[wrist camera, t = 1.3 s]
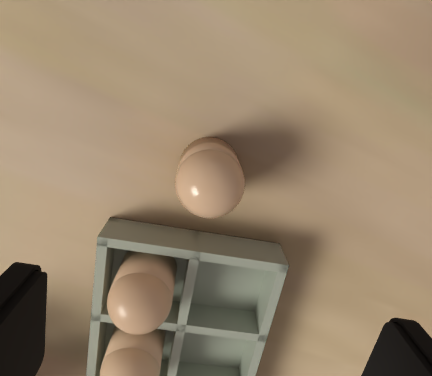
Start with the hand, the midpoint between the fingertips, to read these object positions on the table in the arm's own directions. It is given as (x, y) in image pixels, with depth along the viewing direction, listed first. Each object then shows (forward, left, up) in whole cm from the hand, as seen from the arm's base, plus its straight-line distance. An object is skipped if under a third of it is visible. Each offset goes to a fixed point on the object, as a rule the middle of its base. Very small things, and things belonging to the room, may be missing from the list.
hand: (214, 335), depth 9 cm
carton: (+15, 0, -17) cm, 23 cm away
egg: (0, 0, -17) cm, 17 cm away
